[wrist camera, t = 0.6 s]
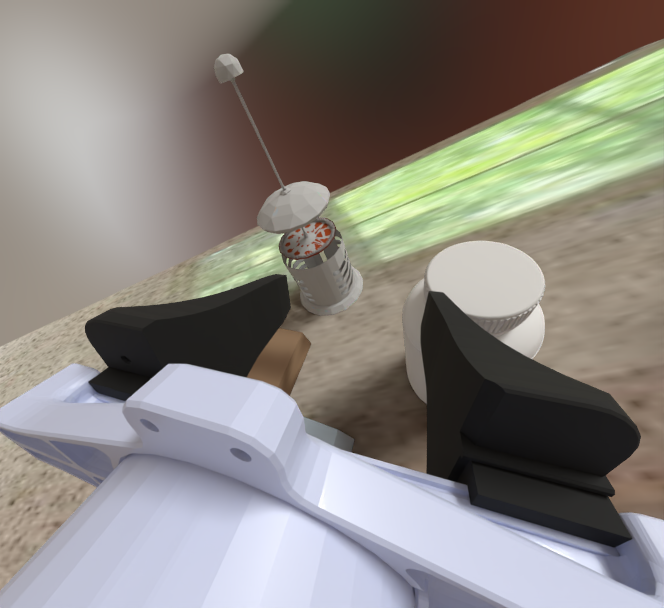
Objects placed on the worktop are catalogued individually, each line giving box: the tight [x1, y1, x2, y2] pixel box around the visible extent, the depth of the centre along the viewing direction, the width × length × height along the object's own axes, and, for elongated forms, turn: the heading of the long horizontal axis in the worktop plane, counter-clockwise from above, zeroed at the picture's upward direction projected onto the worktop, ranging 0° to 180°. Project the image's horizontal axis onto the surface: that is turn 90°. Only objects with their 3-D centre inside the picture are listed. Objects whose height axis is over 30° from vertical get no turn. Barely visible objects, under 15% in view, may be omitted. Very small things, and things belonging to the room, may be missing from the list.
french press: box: [214, 54, 363, 316], centre depth 26 cm, size 10×12×25 cm
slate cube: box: [304, 417, 355, 452], centre depth 20 cm, size 5×5×6 cm
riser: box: [247, 328, 311, 396], centre depth 29 cm, size 10×10×3 cm
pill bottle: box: [402, 241, 545, 404], centre depth 18 cm, size 8×8×15 cm
